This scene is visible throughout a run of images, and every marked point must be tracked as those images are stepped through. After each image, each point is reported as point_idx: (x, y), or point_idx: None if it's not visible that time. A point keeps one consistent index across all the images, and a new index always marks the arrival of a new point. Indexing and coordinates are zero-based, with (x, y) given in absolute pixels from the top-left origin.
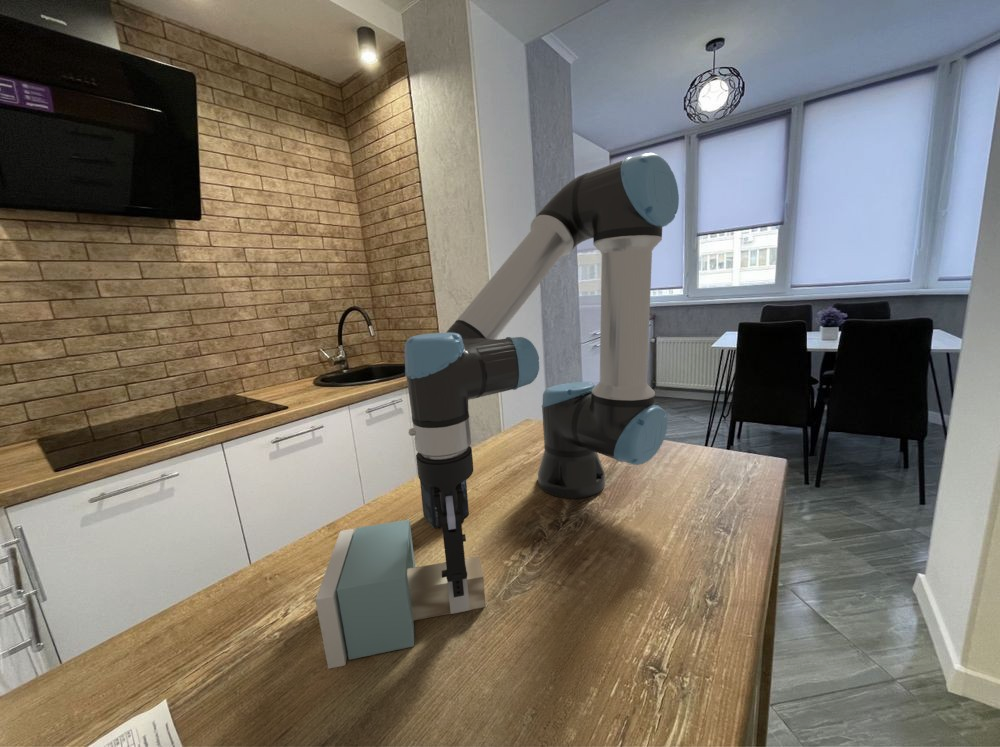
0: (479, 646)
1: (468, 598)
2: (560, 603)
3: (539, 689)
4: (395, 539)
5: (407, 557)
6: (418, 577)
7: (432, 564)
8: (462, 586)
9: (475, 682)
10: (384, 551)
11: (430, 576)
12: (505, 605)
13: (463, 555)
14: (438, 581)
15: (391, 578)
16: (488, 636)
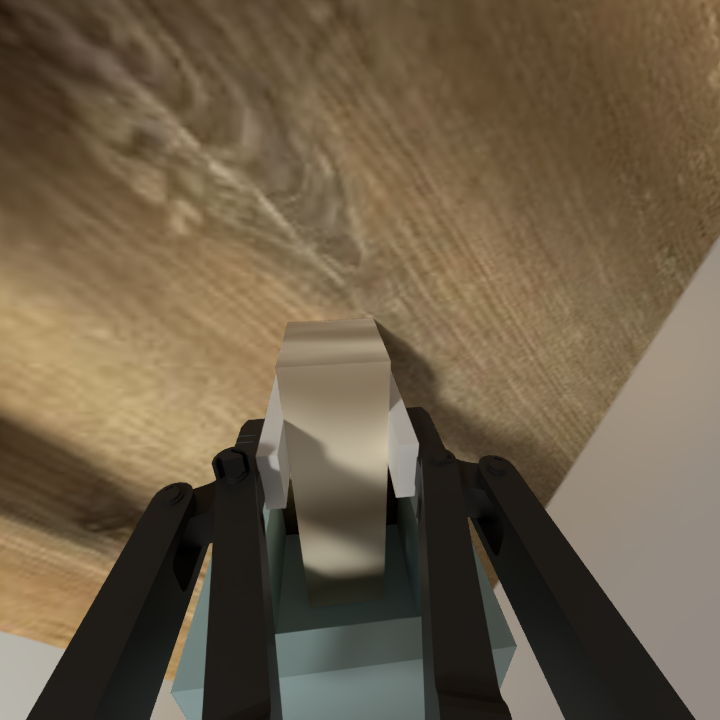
0: (481, 341)
1: (393, 381)
2: (426, 54)
3: (636, 225)
4: (305, 695)
5: (387, 637)
6: (343, 524)
7: (294, 500)
8: (435, 430)
9: (553, 354)
10: (365, 700)
11: (348, 501)
12: (382, 262)
13: (579, 561)
14: (374, 481)
15: (503, 667)
16: (464, 320)
